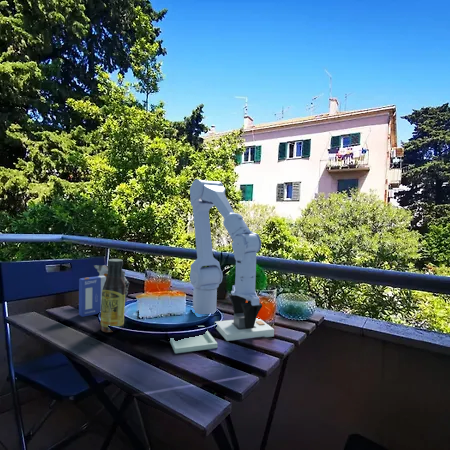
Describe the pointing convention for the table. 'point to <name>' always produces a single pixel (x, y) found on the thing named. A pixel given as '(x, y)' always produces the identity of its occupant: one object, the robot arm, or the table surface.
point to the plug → (239, 321)
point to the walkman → (90, 295)
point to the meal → (104, 272)
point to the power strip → (244, 330)
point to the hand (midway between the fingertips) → (243, 323)
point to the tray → (194, 343)
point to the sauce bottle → (113, 297)
